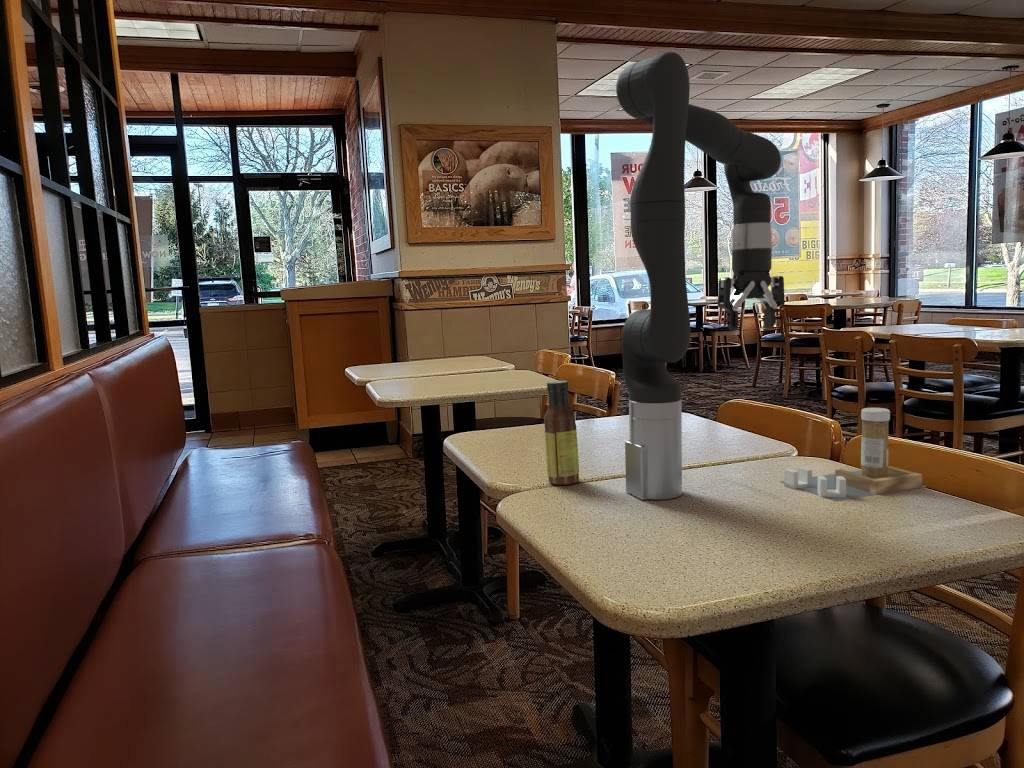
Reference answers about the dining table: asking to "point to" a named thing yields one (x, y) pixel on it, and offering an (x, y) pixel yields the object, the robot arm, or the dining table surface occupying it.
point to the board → (848, 488)
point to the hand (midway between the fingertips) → (751, 328)
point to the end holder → (882, 480)
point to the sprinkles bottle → (874, 442)
